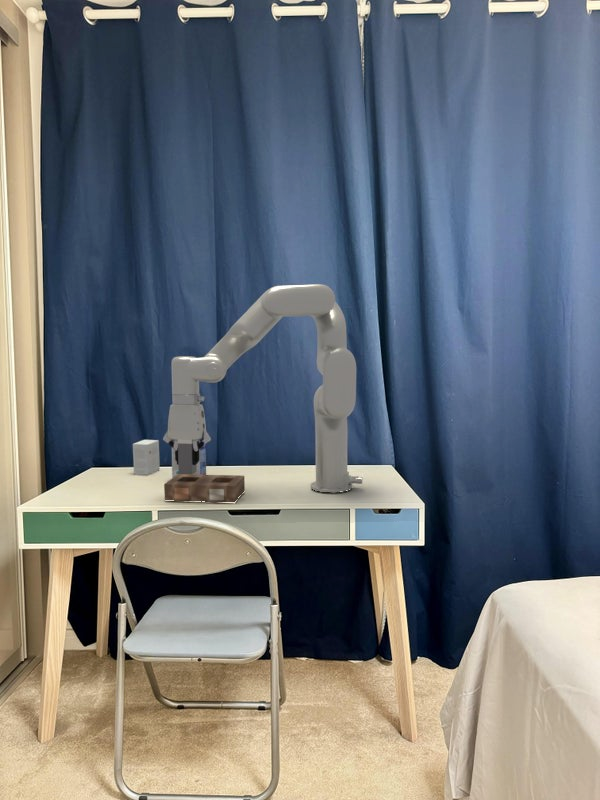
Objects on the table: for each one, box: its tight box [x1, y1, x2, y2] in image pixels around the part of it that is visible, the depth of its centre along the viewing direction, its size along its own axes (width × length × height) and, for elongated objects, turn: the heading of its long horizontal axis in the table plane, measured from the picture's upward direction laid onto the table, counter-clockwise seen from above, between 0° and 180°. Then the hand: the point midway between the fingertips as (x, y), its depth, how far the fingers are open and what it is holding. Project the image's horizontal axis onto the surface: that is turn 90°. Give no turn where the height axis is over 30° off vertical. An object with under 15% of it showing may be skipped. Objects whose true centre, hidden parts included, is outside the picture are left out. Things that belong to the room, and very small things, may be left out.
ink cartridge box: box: [171, 443, 207, 479], centre depth 192 cm, size 10×6×14 cm, turn 78°
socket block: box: [163, 474, 246, 502], centre depth 172 cm, size 20×12×5 cm, turn 82°
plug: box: [178, 439, 197, 474], centre depth 172 cm, size 4×4×10 cm
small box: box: [132, 439, 161, 476], centre depth 203 cm, size 8×6×10 cm
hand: (187, 463), depth 172 cm, fingers closed on plug, 4 cm apart
